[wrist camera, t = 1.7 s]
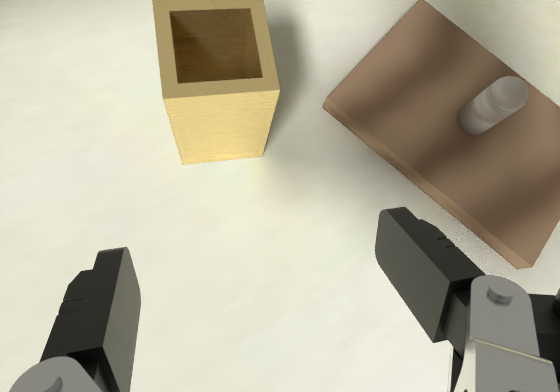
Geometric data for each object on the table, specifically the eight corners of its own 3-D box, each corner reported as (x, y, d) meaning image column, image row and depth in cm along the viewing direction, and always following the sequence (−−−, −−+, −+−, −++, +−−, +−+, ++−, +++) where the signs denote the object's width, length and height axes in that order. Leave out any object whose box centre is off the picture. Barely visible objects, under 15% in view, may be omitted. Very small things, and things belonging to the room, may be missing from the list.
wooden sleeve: (182, 164, 28) (162, 98, 19) (174, 92, 29) (152, -1, 20) (262, 156, 29) (280, 89, 20) (250, 86, 30) (262, -5, 21)
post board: (322, 107, 31) (348, 55, 24) (413, 10, 35) (456, -56, 28) (517, 268, 29) (600, 259, 23) (587, 148, 34) (674, 112, 27)
